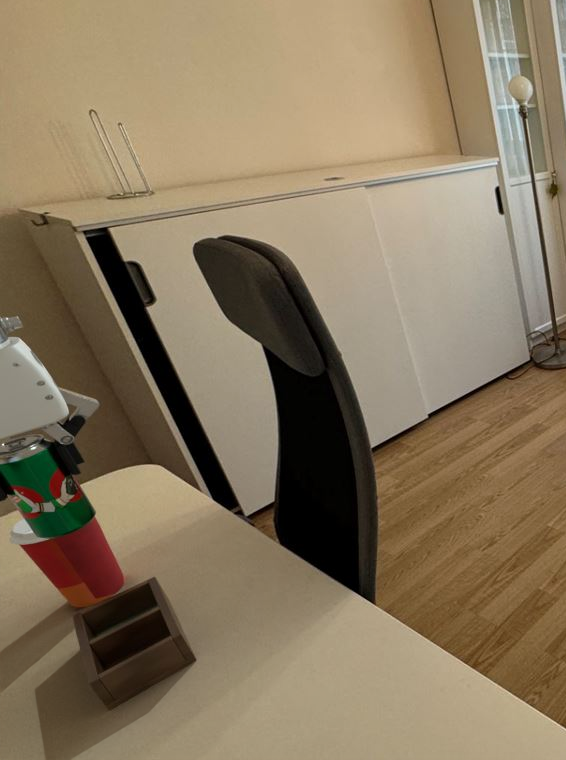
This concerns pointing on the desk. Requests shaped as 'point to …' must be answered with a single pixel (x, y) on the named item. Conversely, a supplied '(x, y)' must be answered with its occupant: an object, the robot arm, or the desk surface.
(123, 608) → the brown wooden divided box
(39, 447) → the soda can
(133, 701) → the desk surface
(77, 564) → the paper cup
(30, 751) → the desk surface
